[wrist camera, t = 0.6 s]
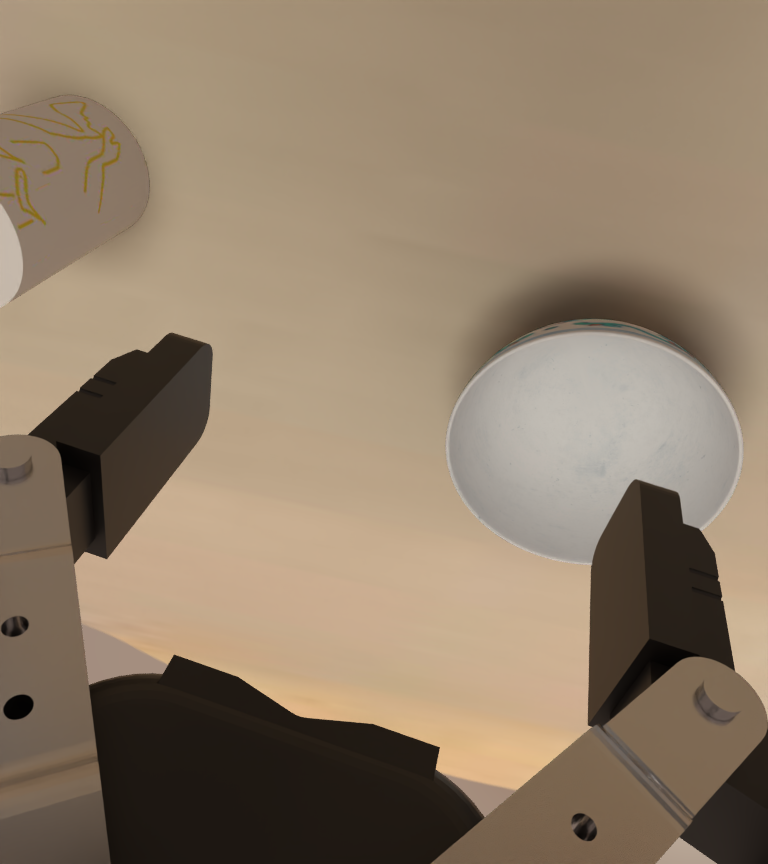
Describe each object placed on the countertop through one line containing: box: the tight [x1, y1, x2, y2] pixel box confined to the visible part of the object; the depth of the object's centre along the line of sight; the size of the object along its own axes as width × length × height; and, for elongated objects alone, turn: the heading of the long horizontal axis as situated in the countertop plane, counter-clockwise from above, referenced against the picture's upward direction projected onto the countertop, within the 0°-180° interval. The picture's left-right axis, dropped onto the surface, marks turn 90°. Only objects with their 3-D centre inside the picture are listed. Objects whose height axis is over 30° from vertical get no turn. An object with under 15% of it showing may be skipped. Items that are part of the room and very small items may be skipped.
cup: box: [0, 95, 150, 308], centre depth 39 cm, size 8×8×12 cm
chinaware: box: [446, 319, 744, 565], centre depth 41 cm, size 15×15×8 cm
